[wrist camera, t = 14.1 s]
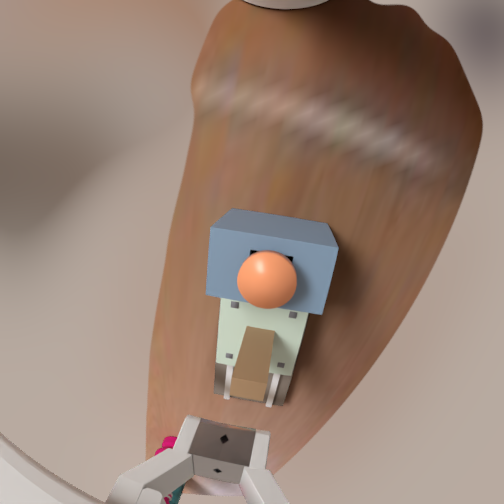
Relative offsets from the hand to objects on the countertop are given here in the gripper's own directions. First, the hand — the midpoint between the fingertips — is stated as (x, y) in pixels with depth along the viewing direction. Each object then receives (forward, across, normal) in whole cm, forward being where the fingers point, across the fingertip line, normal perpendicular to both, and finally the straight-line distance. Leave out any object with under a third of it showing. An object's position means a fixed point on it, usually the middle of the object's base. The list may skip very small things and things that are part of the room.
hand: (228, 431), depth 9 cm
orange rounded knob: (+18, 0, 0) cm, 18 cm away
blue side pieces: (+23, 0, 0) cm, 23 cm away
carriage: (+21, 0, +10) cm, 23 cm away
